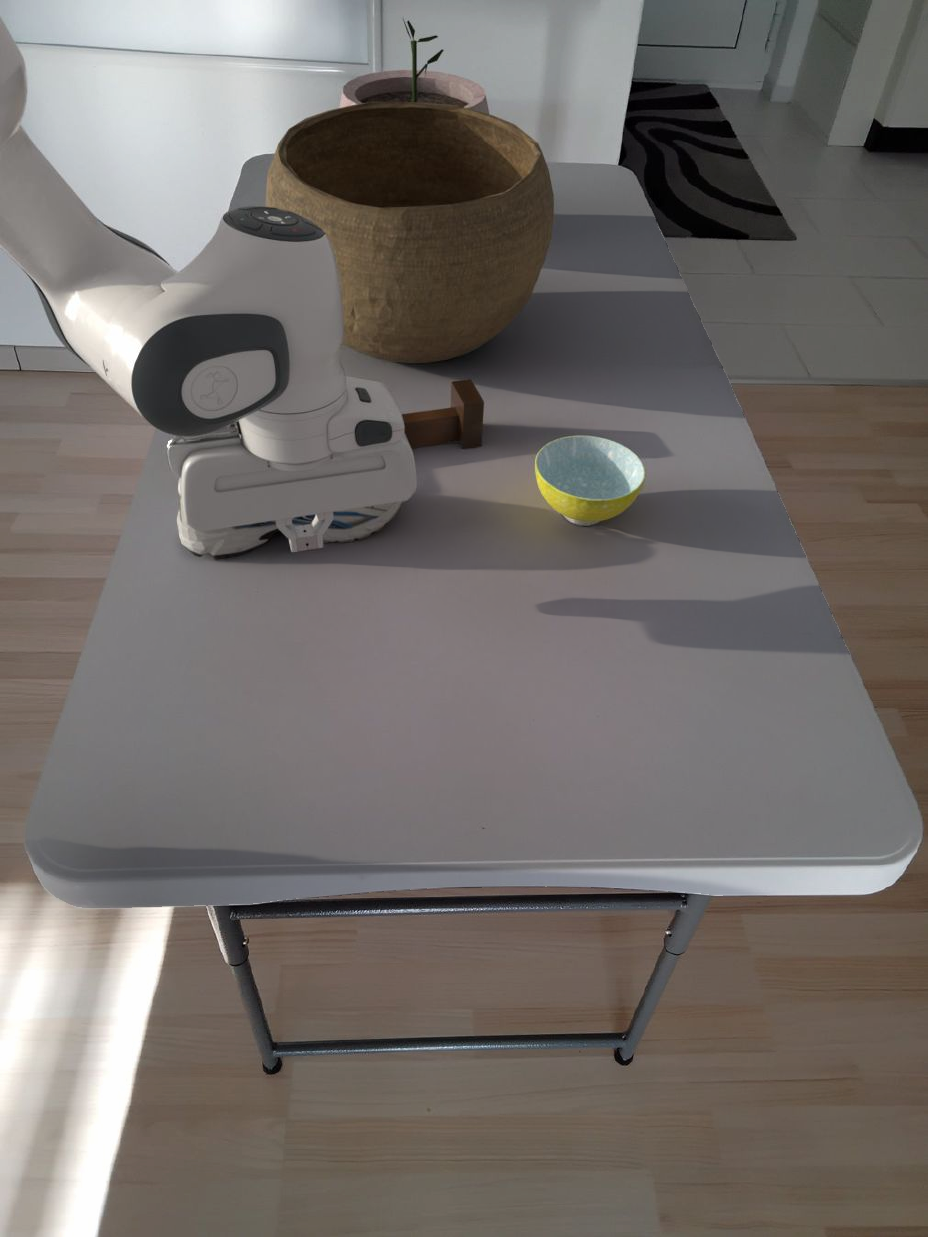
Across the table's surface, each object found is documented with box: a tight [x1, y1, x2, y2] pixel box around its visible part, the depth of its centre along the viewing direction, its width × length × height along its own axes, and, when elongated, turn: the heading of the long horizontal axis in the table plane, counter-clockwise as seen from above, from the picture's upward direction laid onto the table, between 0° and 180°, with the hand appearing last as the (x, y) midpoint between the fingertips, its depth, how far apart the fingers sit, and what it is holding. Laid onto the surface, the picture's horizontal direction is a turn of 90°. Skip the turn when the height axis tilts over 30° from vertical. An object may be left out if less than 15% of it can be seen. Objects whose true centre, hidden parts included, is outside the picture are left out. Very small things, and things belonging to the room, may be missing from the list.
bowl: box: [534, 435, 647, 527], centre depth 97 cm, size 11×12×6 cm
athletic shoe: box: [176, 481, 404, 559], centre depth 93 cm, size 10×23×12 cm, turn 115°
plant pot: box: [338, 18, 490, 115], centre depth 138 cm, size 24×24×30 cm
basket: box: [265, 101, 555, 364], centre depth 117 cm, size 35×35×25 cm
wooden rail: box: [401, 378, 485, 450], centre depth 103 cm, size 30×5×6 cm, turn 107°
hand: (306, 546), depth 85 cm, fingers closed
